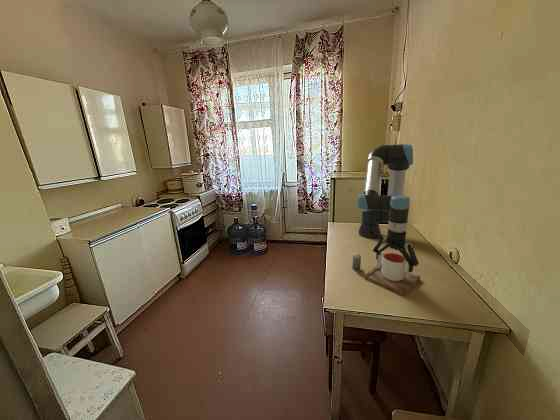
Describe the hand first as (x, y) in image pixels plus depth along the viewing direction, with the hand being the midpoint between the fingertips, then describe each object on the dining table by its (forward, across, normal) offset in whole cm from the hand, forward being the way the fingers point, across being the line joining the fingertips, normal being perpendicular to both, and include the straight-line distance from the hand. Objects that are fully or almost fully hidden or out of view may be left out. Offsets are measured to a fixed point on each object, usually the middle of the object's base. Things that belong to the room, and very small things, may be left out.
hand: (392, 271), depth 108 cm
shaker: (+4, -17, -4) cm, 18 cm away
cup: (+3, 0, 0) cm, 3 cm away
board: (+4, 0, 0) cm, 4 cm away
